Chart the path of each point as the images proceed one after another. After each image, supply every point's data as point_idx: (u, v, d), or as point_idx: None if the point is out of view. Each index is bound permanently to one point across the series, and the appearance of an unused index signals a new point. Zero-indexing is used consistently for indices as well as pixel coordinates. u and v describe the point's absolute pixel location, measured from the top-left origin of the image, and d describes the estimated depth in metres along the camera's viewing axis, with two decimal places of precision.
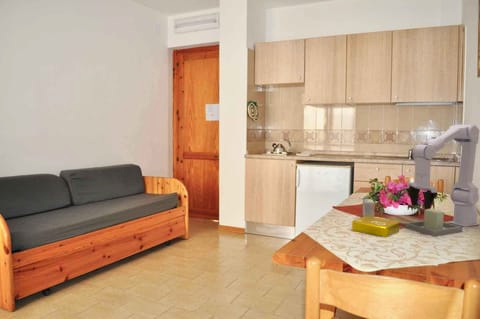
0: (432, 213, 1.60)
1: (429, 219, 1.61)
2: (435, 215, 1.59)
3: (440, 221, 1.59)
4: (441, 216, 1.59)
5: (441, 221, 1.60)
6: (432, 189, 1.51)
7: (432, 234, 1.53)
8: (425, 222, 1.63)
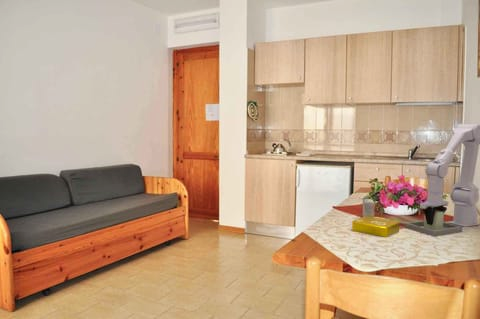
0: None
1: None
2: (435, 215, 1.59)
3: (440, 221, 1.59)
4: (441, 216, 1.59)
5: (441, 220, 1.60)
6: None
7: (432, 234, 1.53)
8: (425, 222, 1.63)
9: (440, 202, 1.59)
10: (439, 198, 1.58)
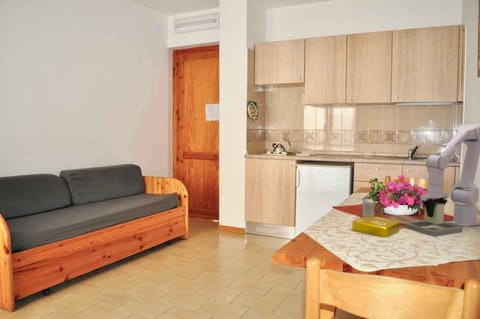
0: None
1: None
2: (435, 207, 1.58)
3: (441, 213, 1.59)
4: (441, 208, 1.59)
5: (442, 213, 1.59)
6: None
7: (432, 234, 1.53)
8: (425, 215, 1.63)
9: (440, 194, 1.58)
10: (439, 190, 1.58)
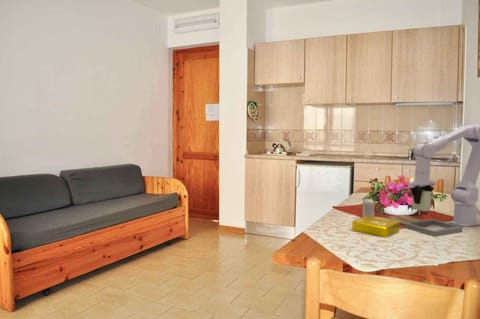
0: None
1: None
2: (422, 194, 1.64)
3: (428, 200, 1.64)
4: (428, 196, 1.64)
5: (429, 200, 1.65)
6: None
7: (432, 234, 1.53)
8: (413, 202, 1.68)
9: (427, 182, 1.64)
10: (426, 178, 1.63)
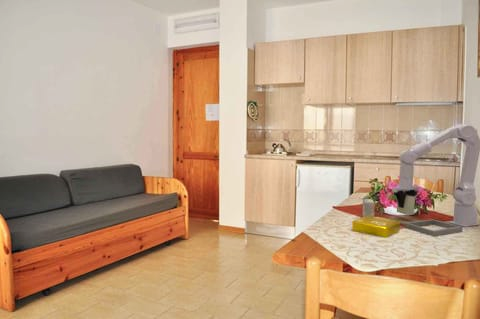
0: None
1: None
2: (406, 199, 1.71)
3: (411, 205, 1.72)
4: (412, 200, 1.72)
5: (412, 204, 1.72)
6: None
7: (432, 234, 1.53)
8: (398, 206, 1.76)
9: (410, 186, 1.72)
10: (409, 183, 1.71)
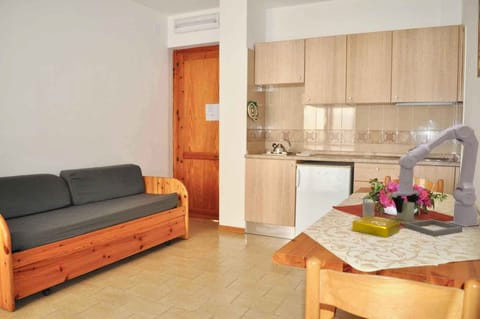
0: (404, 204, 1.73)
1: None
2: (406, 205, 1.72)
3: (411, 211, 1.72)
4: (412, 207, 1.72)
5: (412, 211, 1.73)
6: None
7: (432, 234, 1.53)
8: None
9: (410, 191, 1.72)
10: (409, 187, 1.72)
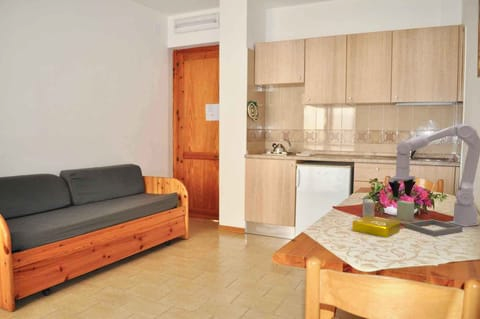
0: (404, 204, 1.73)
1: (401, 209, 1.74)
2: (406, 205, 1.72)
3: (411, 211, 1.72)
4: (412, 207, 1.72)
5: (412, 211, 1.73)
6: None
7: (432, 234, 1.53)
8: (398, 212, 1.76)
9: (407, 176, 1.77)
10: (406, 173, 1.77)
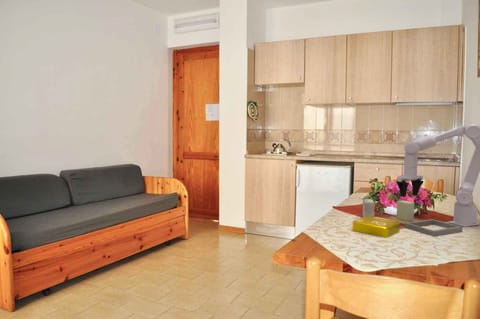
0: (404, 204, 1.73)
1: (401, 209, 1.74)
2: (406, 205, 1.72)
3: (411, 211, 1.72)
4: (412, 207, 1.72)
5: (412, 211, 1.73)
6: None
7: (432, 234, 1.53)
8: (398, 212, 1.76)
9: (415, 176, 1.78)
10: (414, 172, 1.78)
